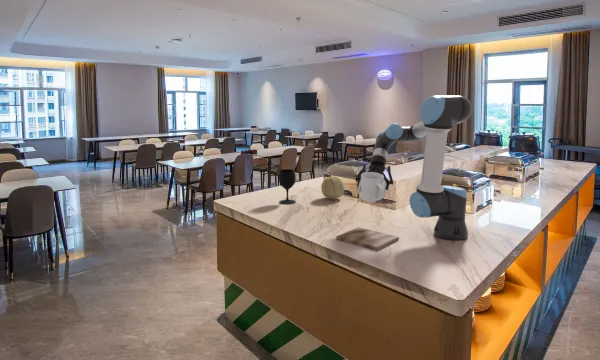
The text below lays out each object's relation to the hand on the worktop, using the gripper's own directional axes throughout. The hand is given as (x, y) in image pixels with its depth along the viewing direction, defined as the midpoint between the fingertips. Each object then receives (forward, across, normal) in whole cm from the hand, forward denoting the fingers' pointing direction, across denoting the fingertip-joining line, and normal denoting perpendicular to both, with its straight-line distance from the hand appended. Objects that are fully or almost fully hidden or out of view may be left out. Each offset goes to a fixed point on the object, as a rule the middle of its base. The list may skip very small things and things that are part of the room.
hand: (370, 193), depth 208 cm
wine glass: (-9, +60, -33) cm, 69 cm away
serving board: (+25, -4, +1) cm, 25 cm away
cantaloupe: (-22, +37, -46) cm, 63 cm away
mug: (+1, 0, -5) cm, 5 cm away
